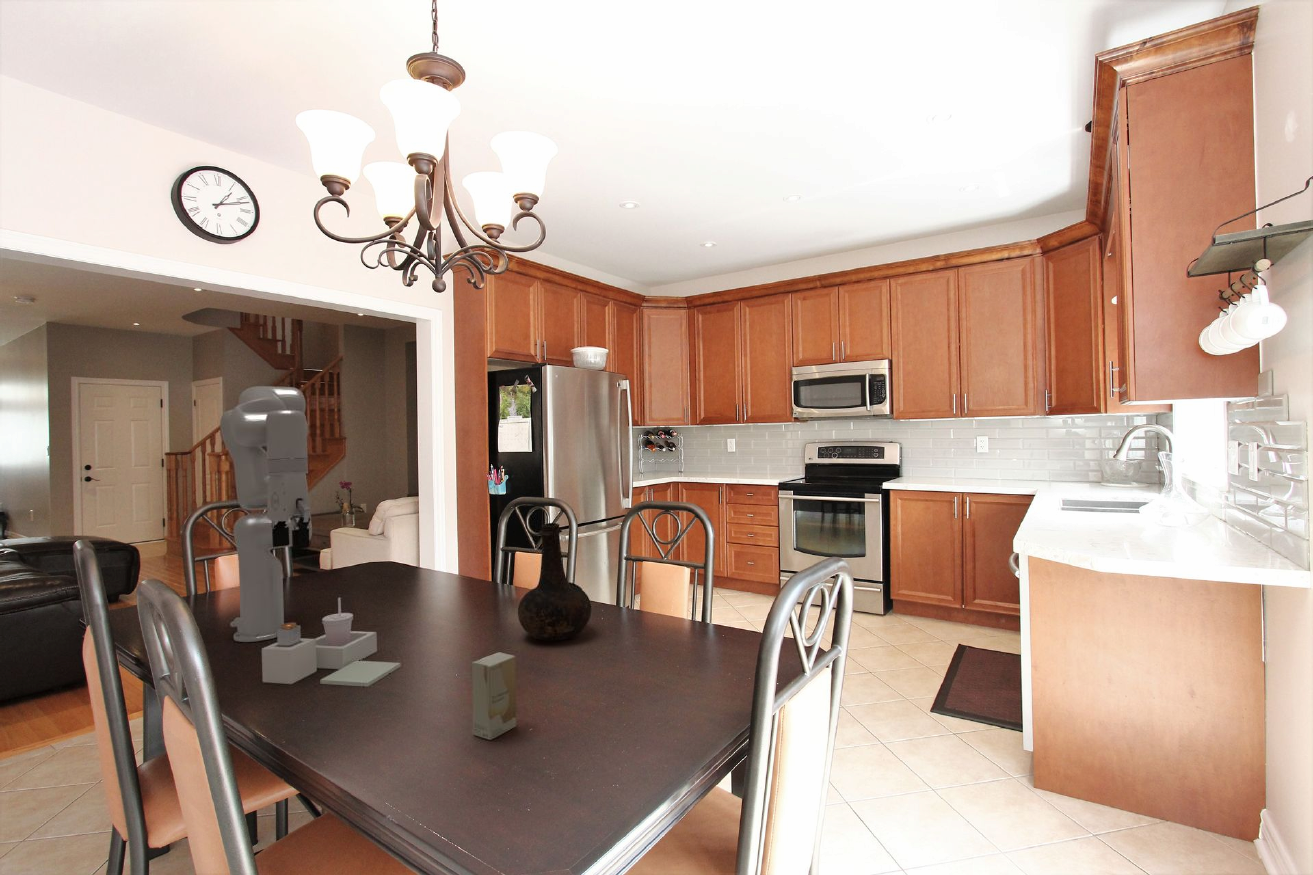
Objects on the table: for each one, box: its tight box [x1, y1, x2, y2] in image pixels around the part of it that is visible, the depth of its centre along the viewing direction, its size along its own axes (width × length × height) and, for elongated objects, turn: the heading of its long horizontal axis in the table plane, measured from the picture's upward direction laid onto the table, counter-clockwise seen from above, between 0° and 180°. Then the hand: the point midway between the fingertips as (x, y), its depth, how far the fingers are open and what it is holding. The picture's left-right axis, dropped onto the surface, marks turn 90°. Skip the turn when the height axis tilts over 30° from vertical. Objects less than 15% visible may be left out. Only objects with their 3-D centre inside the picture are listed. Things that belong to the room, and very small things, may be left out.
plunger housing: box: [261, 637, 318, 685], centre depth 133 cm, size 7×7×7 cm
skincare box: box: [471, 651, 517, 741], centre depth 106 cm, size 6×4×12 cm
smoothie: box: [321, 597, 354, 647], centre depth 143 cm, size 6×6×14 cm
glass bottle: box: [517, 522, 592, 642], centre depth 155 cm, size 18×18×28 cm
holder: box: [315, 630, 378, 670], centre depth 143 cm, size 11×11×4 cm
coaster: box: [319, 660, 402, 688], centre depth 132 cm, size 11×11×1 cm
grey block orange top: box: [276, 622, 302, 647], centre depth 132 cm, size 3×3×7 cm
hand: (290, 547), depth 134 cm, fingers open, 9 cm apart
